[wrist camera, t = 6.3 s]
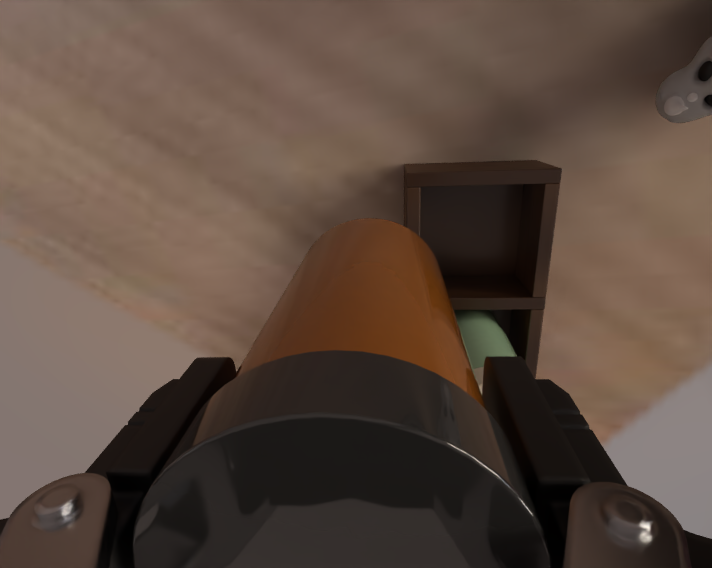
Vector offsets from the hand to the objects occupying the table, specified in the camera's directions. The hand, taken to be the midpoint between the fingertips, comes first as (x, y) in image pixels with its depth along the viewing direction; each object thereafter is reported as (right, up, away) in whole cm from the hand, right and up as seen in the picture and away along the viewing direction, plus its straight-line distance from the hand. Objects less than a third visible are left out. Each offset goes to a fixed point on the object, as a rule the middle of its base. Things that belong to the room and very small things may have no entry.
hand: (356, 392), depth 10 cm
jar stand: (+8, +3, +21) cm, 23 cm away
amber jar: (+1, +2, +6) cm, 7 cm away
